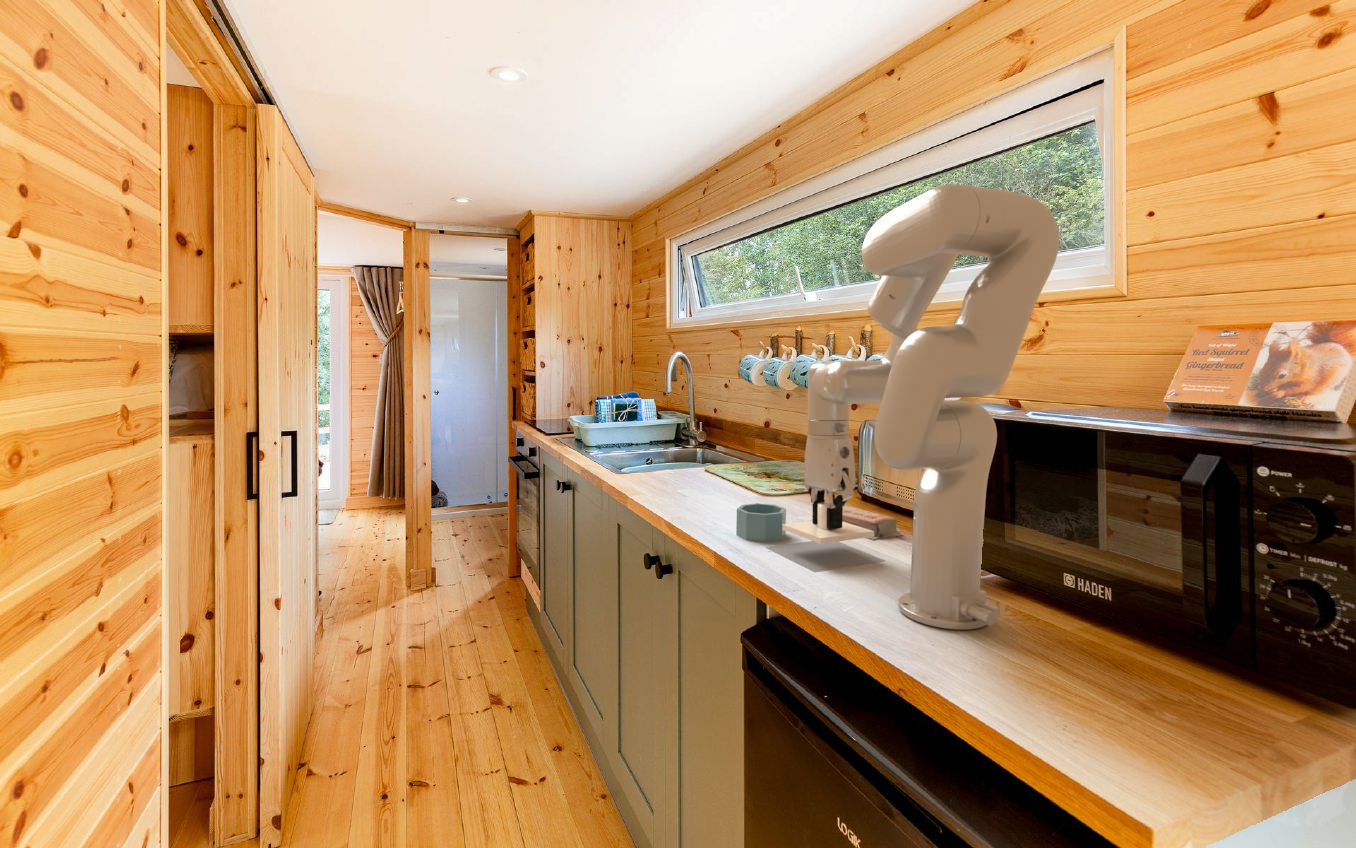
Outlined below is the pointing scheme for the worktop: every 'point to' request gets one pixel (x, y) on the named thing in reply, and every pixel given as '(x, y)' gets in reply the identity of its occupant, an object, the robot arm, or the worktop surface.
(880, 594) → the worktop surface
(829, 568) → the mat
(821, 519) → the lid
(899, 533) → the packaged product
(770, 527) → the bowl
